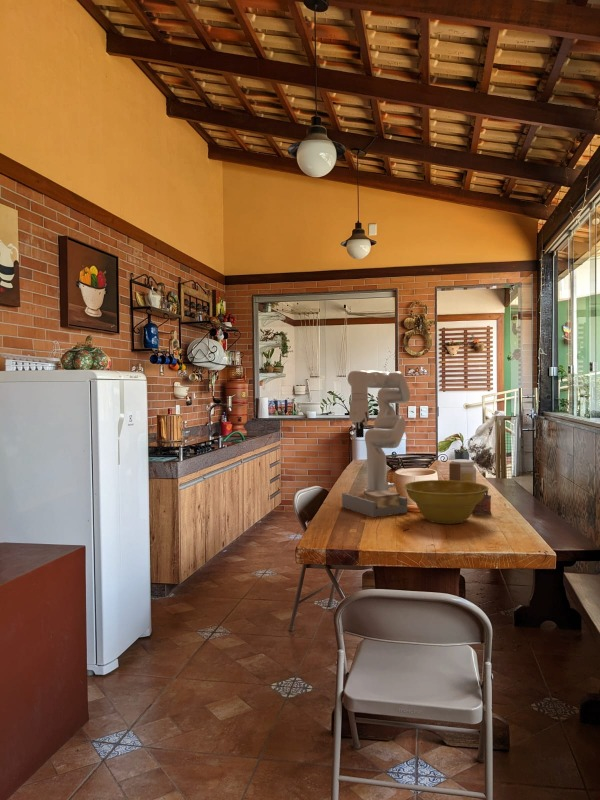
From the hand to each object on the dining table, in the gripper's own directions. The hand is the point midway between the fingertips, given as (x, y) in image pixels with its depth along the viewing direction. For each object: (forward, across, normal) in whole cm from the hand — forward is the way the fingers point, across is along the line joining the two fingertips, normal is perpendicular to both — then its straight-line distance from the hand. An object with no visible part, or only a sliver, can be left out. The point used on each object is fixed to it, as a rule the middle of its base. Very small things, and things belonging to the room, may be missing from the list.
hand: (359, 437), depth 263 cm
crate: (+28, +27, -7) cm, 39 cm away
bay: (+29, +20, -7) cm, 36 cm away
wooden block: (+29, +30, +33) cm, 53 cm away
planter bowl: (+29, +50, +6) cm, 58 cm away
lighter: (+29, +48, +27) cm, 62 cm away
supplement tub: (+29, +17, +47) cm, 58 cm away
